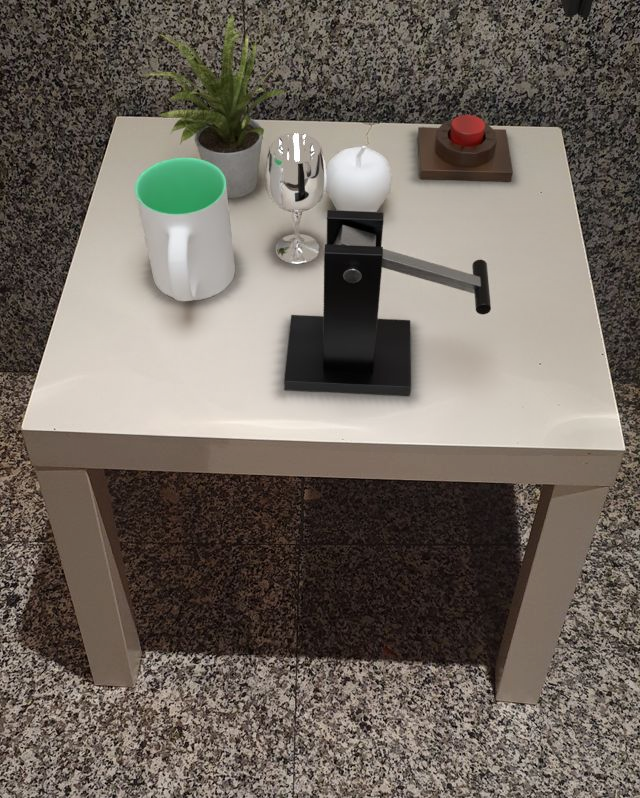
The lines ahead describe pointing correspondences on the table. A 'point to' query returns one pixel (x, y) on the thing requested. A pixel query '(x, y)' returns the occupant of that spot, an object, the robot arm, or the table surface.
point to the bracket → (350, 323)
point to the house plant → (222, 115)
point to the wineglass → (296, 189)
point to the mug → (186, 227)
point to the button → (467, 130)
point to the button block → (463, 156)
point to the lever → (426, 268)
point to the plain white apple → (358, 180)
